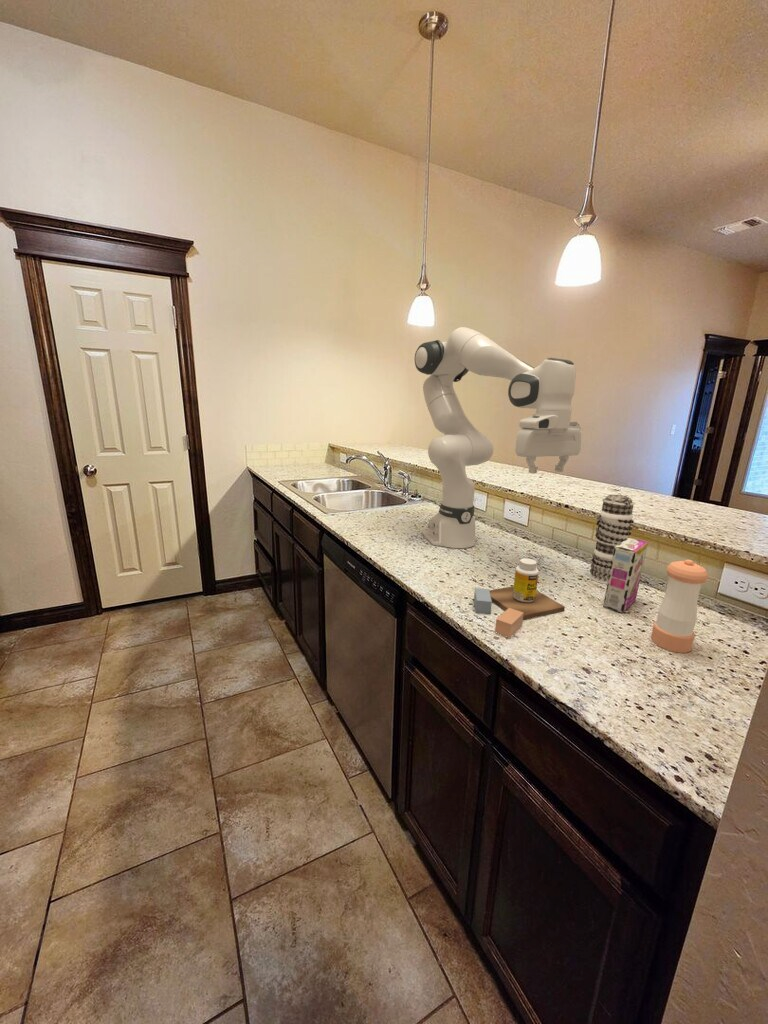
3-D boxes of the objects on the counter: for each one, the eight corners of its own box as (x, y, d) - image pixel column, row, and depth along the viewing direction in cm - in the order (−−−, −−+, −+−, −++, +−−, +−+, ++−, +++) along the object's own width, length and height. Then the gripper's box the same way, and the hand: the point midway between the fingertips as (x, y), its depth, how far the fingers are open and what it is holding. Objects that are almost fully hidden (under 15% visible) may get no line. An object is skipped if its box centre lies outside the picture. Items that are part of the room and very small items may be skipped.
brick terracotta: (507, 621, 97) (509, 607, 96) (522, 626, 95) (523, 612, 94) (494, 633, 92) (496, 619, 91) (509, 638, 89) (511, 624, 89)
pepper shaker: (683, 657, 84) (704, 569, 79) (644, 640, 90) (662, 558, 85) (696, 645, 88) (717, 562, 83) (659, 630, 94) (676, 551, 89)
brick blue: (473, 600, 107) (474, 587, 106) (487, 601, 106) (488, 589, 105) (475, 613, 100) (476, 600, 99) (490, 614, 100) (491, 601, 99)
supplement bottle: (525, 605, 102) (530, 566, 99) (507, 596, 106) (511, 559, 103) (539, 599, 105) (544, 562, 102) (521, 591, 109) (526, 555, 106)
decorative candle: (622, 576, 123) (637, 495, 117) (623, 588, 116) (639, 501, 109) (588, 570, 128) (601, 491, 121) (587, 580, 120) (600, 497, 113)
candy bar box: (624, 614, 101) (636, 551, 97) (602, 607, 104) (613, 546, 100) (637, 600, 108) (649, 541, 104) (616, 594, 112) (627, 536, 108)
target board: (483, 595, 109) (483, 591, 109) (525, 587, 114) (525, 583, 114) (518, 621, 97) (519, 616, 96) (564, 611, 102) (564, 606, 101)
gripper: (572, 421, 118) (565, 469, 121) (514, 420, 110) (509, 472, 114) (590, 422, 112) (582, 472, 116) (530, 421, 104) (525, 475, 108)
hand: (545, 472), depth 115 cm, fingers open, 8 cm apart
